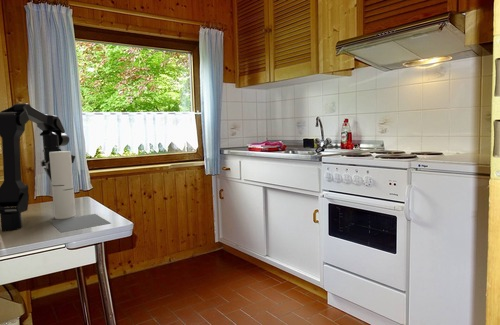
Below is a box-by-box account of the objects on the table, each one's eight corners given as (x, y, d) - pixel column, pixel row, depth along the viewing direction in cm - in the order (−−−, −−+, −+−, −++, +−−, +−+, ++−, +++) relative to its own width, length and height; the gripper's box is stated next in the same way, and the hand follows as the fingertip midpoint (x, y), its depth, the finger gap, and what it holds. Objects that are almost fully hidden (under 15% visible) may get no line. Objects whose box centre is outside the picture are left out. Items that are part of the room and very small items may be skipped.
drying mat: (111, 224, 122) (111, 223, 122) (61, 233, 112) (61, 232, 112) (94, 214, 137) (94, 213, 137) (49, 222, 128) (49, 221, 128)
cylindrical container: (56, 216, 137) (50, 151, 135) (76, 214, 140) (71, 150, 138) (53, 220, 130) (47, 152, 128) (74, 218, 133) (69, 151, 131)
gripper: (77, 146, 144) (80, 184, 145) (67, 145, 158) (70, 180, 160) (46, 147, 137) (50, 187, 138) (39, 146, 151) (42, 183, 153)
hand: (54, 184), depth 147 cm, fingers closed
